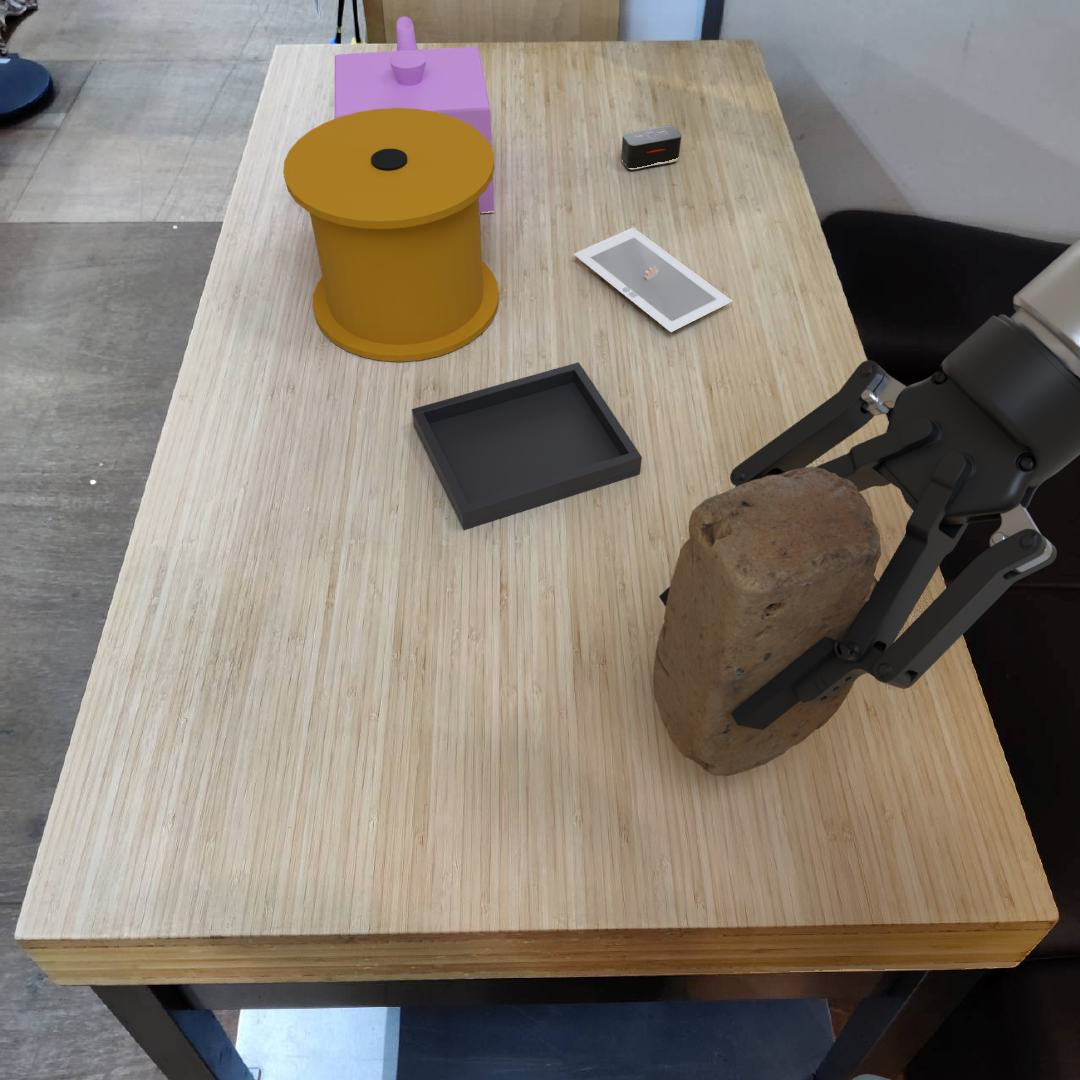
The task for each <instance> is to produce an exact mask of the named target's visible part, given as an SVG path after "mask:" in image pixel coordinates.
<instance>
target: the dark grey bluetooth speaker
mask: <svg viewBox="0 0 1080 1080" xmlns="http://www.w3.org/2000/svg"><path fill="white" fill-rule="evenodd" d="M621 142H622V143H621V153H620V154H621V155H620V160H621V159H622V160H623V162H624V163H625V164H626V166H627V167H628V168H637V167H642V166H647V165H651V164H654V163H657V162H665V161H669V160H672V159H676V158H678V157H679V158H680V153H681V152H680V151H681V150H680V149H681V144H682V143H681V142H682V133H681V132H680V131H679V130H678V128H676V126H674V125H665V126H659V127H652V128H649V129H647V128H646V129H641V130H636V131H631V132H626V133H625V132H624V133H623V135H622V141H621ZM622 160H621V161H622ZM623 162H622V163H623ZM624 163H623V164H624ZM626 166H625V167H626ZM627 167H626V168H627Z"/></svg>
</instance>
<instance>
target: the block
mask: <svg viewBox="0 0 1080 1080" xmlns="http://www.w3.org/2000/svg"><path fill="white" fill-rule="evenodd" d="M816 467H817V466H806V467H805V468H799V469H795V470H791V471H788V472H785V473H782V474H779V475H771V476H766V477H763V478H761V479H756V480H752V481H750V482H747V483H744V484H741V485H739V486H737V487H736V486H734V487H733V488H731V489H729V490H726V491H724V492H721V493H718V494H715V495H713V496H711V497H709V498H706V499H704V500H703V501H701V502H700V503H699V504H698V505H697V506H696V507H695V508H694V509H692V510H691V514H690V517H689V519H688V520H689V521H688V536H689V538H688V539H687V540H686V541H685V542H684V543H683V544H682V546H681V547H680V549H679V554H678V557H677V560H676V564H675V568H674V572H673V575H672V577H671V581H670V586H669V587H670V589H669V594H668V599H667V604H666V606H665V608H664V616H663V620H664V621H663V624H662V626H661V628H660V632H659V635H658V639H657V642H656V649H655V655H654V663H653V671H652V692H653V697H654V701H655V703H656V704H655V705H656V706H657V709H658V712H659V716H660V719H661V720H662V723H663V726H664V728H665V729H666V732H667V734H668V736H669V739H670V740H671V742H672V744H673V745H674V746H675V748H676V749H677V750H678V752H679V753H680V754H681V755H682V756H683V757H685V758H687V759H689V760H691V761H693V762H695V763H696V764H697V765H698V766H699V767H700V768H702V769H704V770H705V772H707V773H709V774H710V775H713V776H719V777H727V776H734V775H738V774H740V773H744V772H747V771H750V770H752V769H755V768H757V767H761V766H764V765H766V764H768V763H769V762H772V761H773V760H775V759H776V758H779V757H780V756H783V755H785V753H786V752H787V751H788V750H789V749H791V748H792V747H793V746H797V745H799V744H801V743H802V742H803V741H806V739H807V738H808V737H809V736H810V735H812V734H813V733H814V732H815V731H817V730H820V729H821V728H822V727H823V726H825V725H826V724H827V723H828V722H829V721H830V720H831V718H832V717H833V716H834V715H835V714H836V713H837V712H838V710H839V709H840V707H841V706H842V705H843V703H844V701H845V700H846V698H847V697H848V695H849V693H850V692H851V690H852V688H853V685H854V683H855V681H856V680H854V681H853V682H852V683H851V684H849V685H848V686H847V687H845V688H844V689H843V690H842V691H840V692H839V693H838V694H836V695H835V696H833V698H831V699H830V700H829V701H827V702H826V703H825V704H821V705H818V706H813V705H809V704H805V703H802V701H799V702H798V703H797V704H796V705H794V706H793V707H792V708H790V709H789V710H788V711H787V712H785V713H784V714H783V715H782V716H780V717H779V718H778V719H777V720H775V721H774V722H773V723H771V724H770V725H769V726H768V727H766V728H765V729H764V730H760V729H754V728H749V727H744V726H739V725H737V723H736V721H735V720H734V718H733V717H732V715H731V713H732V712H733V711H734V710H735V709H737V708H738V707H739V706H740V705H742V704H743V703H744V702H745V701H747V700H748V699H749V698H750V697H751V696H753V695H754V694H755V693H756V692H758V691H759V690H760V689H761V688H763V687H764V686H765V685H766V684H767V683H769V682H770V681H771V680H772V679H774V678H775V677H776V676H777V675H779V674H780V673H781V672H782V671H783V670H785V669H786V668H787V667H788V666H790V665H791V664H792V663H793V662H795V661H796V660H797V659H798V658H800V657H801V656H802V655H803V654H804V653H806V652H807V651H808V650H809V649H811V648H812V647H813V646H814V645H816V644H817V643H818V642H819V641H820V640H822V639H823V638H824V637H825V636H826V637H828V638H831V639H834V640H837V641H839V642H842V643H843V641H844V639H845V638H846V636H847V634H848V632H849V631H850V629H851V627H852V626H853V624H854V622H855V620H856V619H857V617H858V615H859V613H860V612H861V610H862V608H863V607H864V605H865V603H866V602H867V601H868V600H869V598H870V595H871V593H872V591H873V589H874V588H875V586H876V584H877V583H878V581H879V580H878V579H877V577H876V576H875V573H876V570H877V566H878V563H879V561H880V558H881V556H882V547H881V546H882V544H881V536H880V535H881V534H880V532H879V529H878V527H877V525H876V523H875V522H874V515H873V512H872V508H871V506H870V505H869V503H868V501H867V500H866V498H865V496H864V495H863V493H860V492H857V487H856V486H855V485H854V484H853V483H852V482H851V481H850V480H847V479H844V478H841V477H839V476H838V475H836V474H835V473H830V472H828V471H827V470H825V469H821V468H816Z"/></svg>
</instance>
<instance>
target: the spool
mask: <svg viewBox="0 0 1080 1080" xmlns="http://www.w3.org/2000/svg"><path fill="white" fill-rule="evenodd" d="M495 168H496V167H495V156H494V149H493V147H492V148H491V146H490V144H489V142H488V140H487V139H486V138H485V137H484V136H483V135H482V134H481V133H480V132H479V131H478V130H477V129H475V128H474V127H472V126H471V125H469V124H468V123H466V122H464V121H461V120H459V119H457V118H454V117H452V116H449V115H445V114H442V113H438V112H434V111H428V110H421V109H410V108H386V109H374V110H368V111H361V112H356V113H353V114H349V115H345V116H341V117H338V118H336V119H334V118H333V119H331V120H328V121H325V122H323V123H321V124H319V125H318V126H316V127H314V128H313V129H311V130H309V131H308V132H306V133H305V134H303V135H302V136H301V137H300V138H298V139H297V140H296V142H295V143H294V144H293V145H292V147H290V149H289V150H288V152H287V155H286V157H285V159H284V162H283V171H282V173H283V178H284V181H285V186H286V189H287V192H288V193H289V195H290V196H291V197H292V199H293V201H294V202H295V203H296V204H298V205H299V206H300V207H301V208H302V209H304V210H305V211H306V212H308V213H309V216H310V221H311V226H312V232H313V235H314V240H315V241H314V242H315V246H316V251H317V255H318V261H319V266H320V272H321V277H320V279H319V280H318V281H317V282H316V285H315V288H314V291H313V293H312V305H311V307H312V311H313V315H314V318H315V322H316V324H317V326H318V328H319V329H320V331H321V333H322V335H324V336H325V337H326V338H327V339H328V340H329V341H330V342H332V343H333V344H334V345H335V346H337V347H339V348H341V349H342V350H344V351H346V352H348V353H351V354H353V355H357V356H359V357H362V358H366V359H372V360H377V361H380V362H396V363H397V362H398V363H402V362H415V361H424V360H427V359H433V358H437V357H441V356H443V355H447V354H449V353H453V352H455V351H457V350H459V349H461V348H463V347H465V346H467V345H468V344H470V343H471V342H473V341H474V340H476V339H477V338H478V337H479V336H481V335H482V334H484V332H485V331H486V330H487V328H488V327H489V326H490V325H491V324H492V322H493V321H494V318H495V317H496V314H497V313H498V310H499V309H498V308H499V303H500V292H499V286H498V285H499V283H498V281H497V279H496V276H495V275H494V272H493V271H492V270H491V269H490V268H489V266H488V265H487V264H486V263H485V262H484V261H483V258H482V238H481V218H480V217H481V214H479V197H480V196H481V195H482V194H483V193H484V192H485V191H486V189H487V187H488V186H489V184H490V182H491V181H492V178H493V179H494V173H495Z"/></svg>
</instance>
